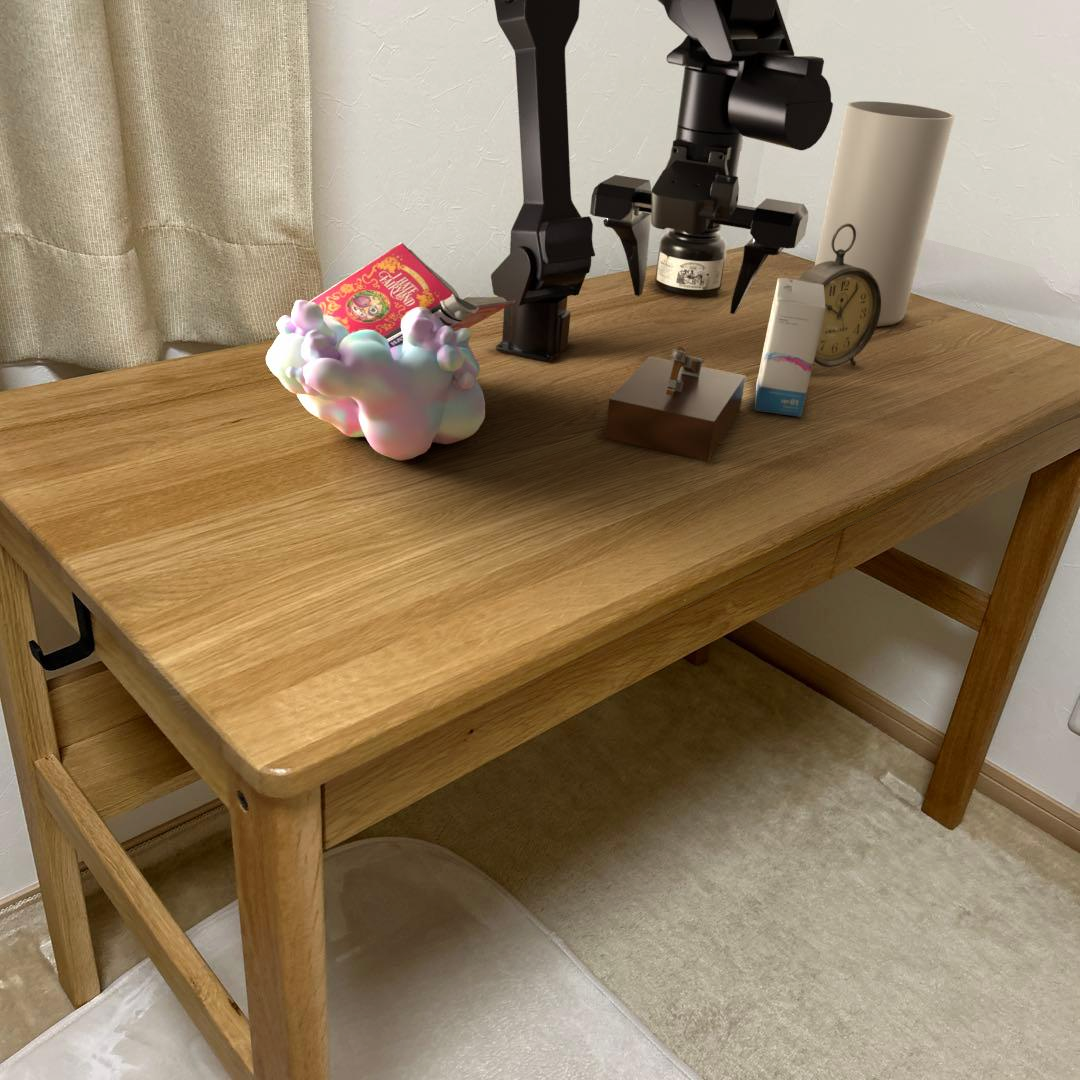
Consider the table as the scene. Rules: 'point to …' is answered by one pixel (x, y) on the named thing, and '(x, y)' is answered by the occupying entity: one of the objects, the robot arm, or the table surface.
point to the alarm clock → (844, 307)
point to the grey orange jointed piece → (688, 367)
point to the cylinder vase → (885, 193)
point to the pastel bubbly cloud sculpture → (387, 356)
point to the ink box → (790, 347)
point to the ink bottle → (691, 262)
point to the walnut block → (675, 409)
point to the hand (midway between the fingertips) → (685, 303)
